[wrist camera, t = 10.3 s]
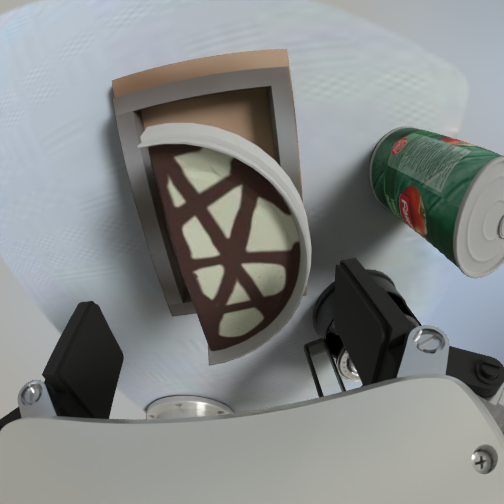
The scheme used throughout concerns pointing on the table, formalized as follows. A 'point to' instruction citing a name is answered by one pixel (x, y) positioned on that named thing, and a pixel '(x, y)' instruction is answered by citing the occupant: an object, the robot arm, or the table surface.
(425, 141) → the canned tomato
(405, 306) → the french press
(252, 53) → the wooden tray
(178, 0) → the table surface
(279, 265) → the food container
